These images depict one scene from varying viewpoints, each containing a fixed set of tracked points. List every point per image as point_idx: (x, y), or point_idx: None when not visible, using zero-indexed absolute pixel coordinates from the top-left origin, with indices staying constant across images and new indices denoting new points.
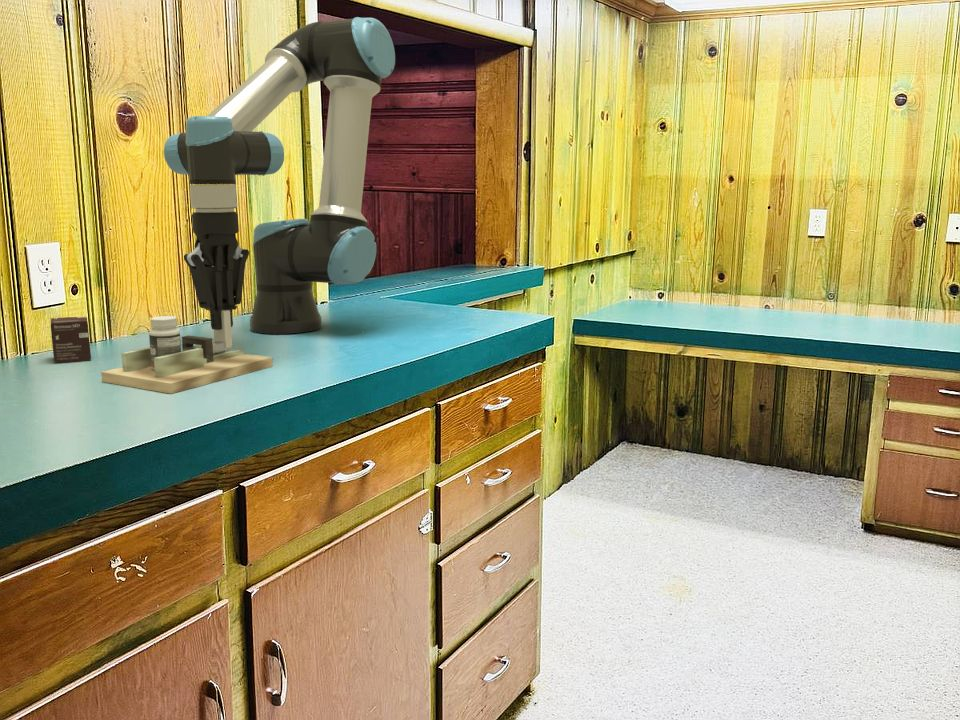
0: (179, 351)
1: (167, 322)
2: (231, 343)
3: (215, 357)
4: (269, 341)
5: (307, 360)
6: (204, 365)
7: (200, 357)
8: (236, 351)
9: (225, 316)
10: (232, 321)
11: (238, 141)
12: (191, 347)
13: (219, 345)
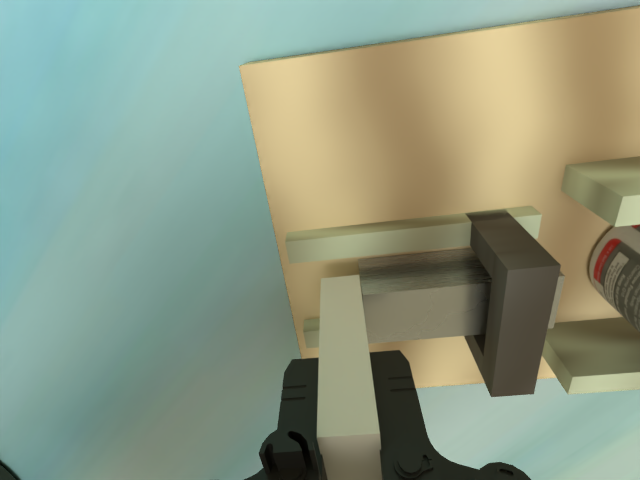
0: None
1: None
2: (324, 287)
3: (457, 221)
4: (36, 402)
5: (46, 30)
6: (546, 180)
7: (612, 179)
8: (328, 237)
9: (359, 401)
10: (285, 384)
11: None
12: None
13: (396, 285)
